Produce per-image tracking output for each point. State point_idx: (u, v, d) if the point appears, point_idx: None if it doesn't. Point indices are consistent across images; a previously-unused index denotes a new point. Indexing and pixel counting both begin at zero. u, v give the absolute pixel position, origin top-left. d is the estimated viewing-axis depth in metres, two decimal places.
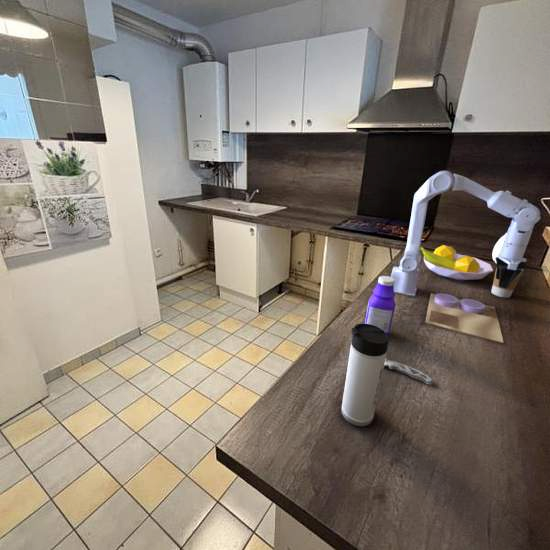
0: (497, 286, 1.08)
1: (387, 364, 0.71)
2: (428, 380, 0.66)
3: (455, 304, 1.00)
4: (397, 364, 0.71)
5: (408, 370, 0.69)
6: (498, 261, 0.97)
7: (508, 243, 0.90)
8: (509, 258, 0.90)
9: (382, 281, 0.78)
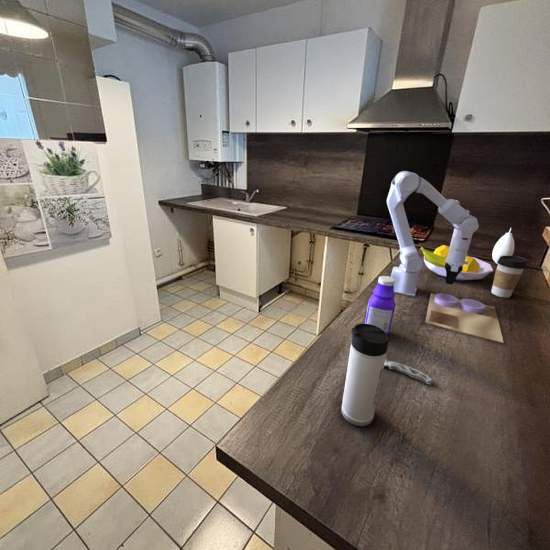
0: (497, 286, 1.08)
1: (387, 364, 0.71)
2: (428, 380, 0.66)
3: (455, 304, 1.00)
4: (397, 364, 0.71)
5: (408, 370, 0.69)
6: None
7: (452, 248, 1.02)
8: (453, 261, 1.02)
9: (382, 281, 0.78)
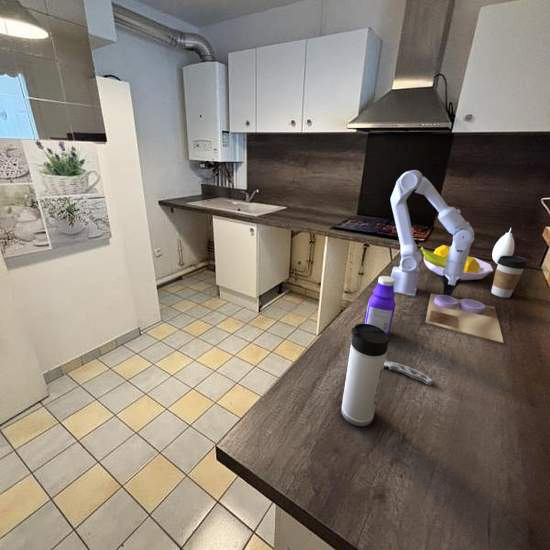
0: (497, 286, 1.08)
1: (387, 365, 0.71)
2: (428, 380, 0.66)
3: (455, 305, 0.99)
4: (397, 365, 0.71)
5: (408, 371, 0.69)
6: None
7: (449, 260, 0.99)
8: (451, 274, 1.00)
9: (382, 281, 0.78)
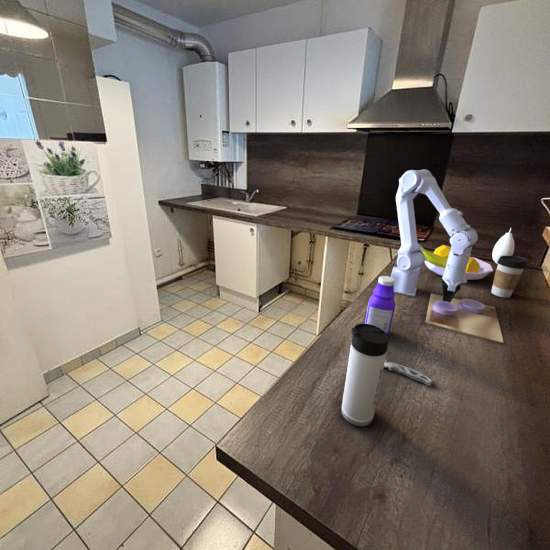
0: (497, 286, 1.08)
1: (387, 365, 0.71)
2: (428, 381, 0.66)
3: (455, 312, 0.94)
4: (397, 365, 0.71)
5: (408, 371, 0.69)
6: None
7: (449, 265, 0.95)
8: (450, 279, 0.95)
9: (382, 281, 0.78)
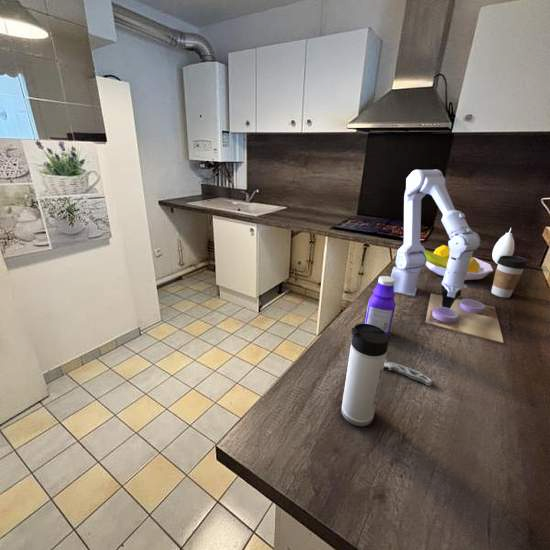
0: (497, 286, 1.08)
1: (386, 365, 0.71)
2: (428, 381, 0.66)
3: (455, 319, 0.90)
4: (397, 365, 0.70)
5: (408, 371, 0.69)
6: None
7: (449, 270, 0.91)
8: (450, 285, 0.91)
9: (382, 281, 0.78)
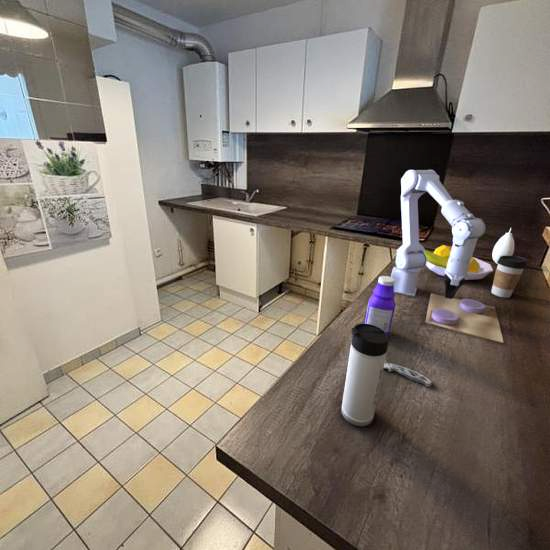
0: (497, 286, 1.08)
1: (386, 366, 0.71)
2: (428, 382, 0.66)
3: (455, 321, 0.89)
4: (396, 366, 0.70)
5: (407, 372, 0.69)
6: None
7: (452, 258, 0.88)
8: (453, 273, 0.89)
9: (382, 281, 0.78)
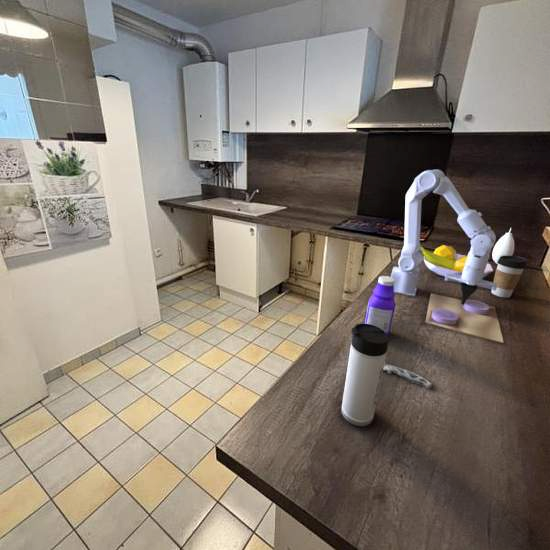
0: (497, 286, 1.08)
1: (386, 368, 0.70)
2: (427, 384, 0.65)
3: (455, 321, 0.89)
4: (396, 368, 0.70)
5: (407, 374, 0.68)
6: None
7: None
8: None
9: (382, 281, 0.78)
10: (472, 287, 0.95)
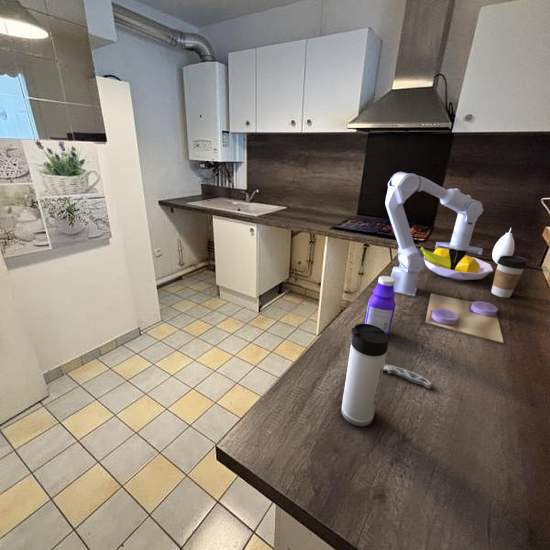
0: (497, 286, 1.08)
1: (385, 368, 0.70)
2: (428, 384, 0.65)
3: (455, 321, 0.89)
4: (396, 368, 0.70)
5: (407, 374, 0.68)
6: (457, 251, 1.08)
7: None
8: None
9: (382, 281, 0.78)
10: (462, 253, 1.04)
